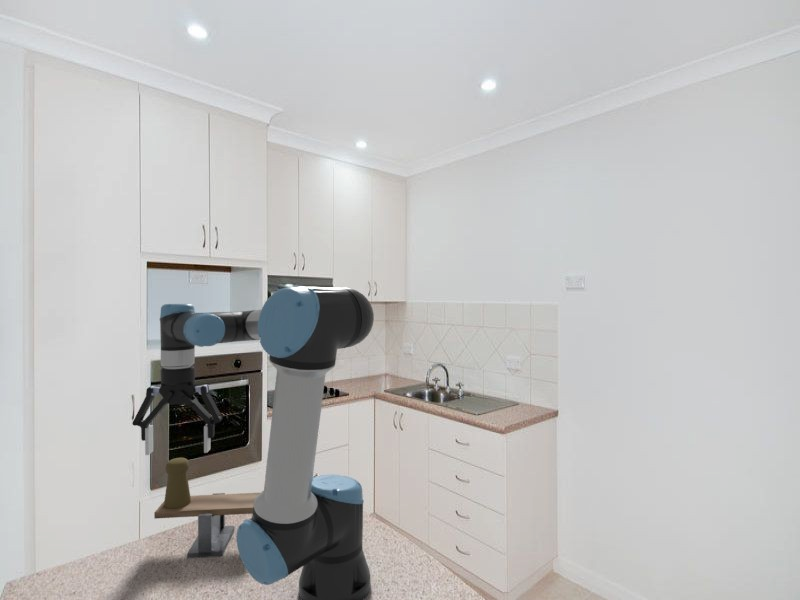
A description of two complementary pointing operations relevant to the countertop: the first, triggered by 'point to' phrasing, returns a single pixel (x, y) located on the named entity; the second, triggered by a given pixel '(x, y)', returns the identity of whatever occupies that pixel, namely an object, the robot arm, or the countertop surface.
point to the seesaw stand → (211, 536)
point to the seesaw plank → (211, 506)
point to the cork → (177, 484)
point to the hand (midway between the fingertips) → (178, 452)
